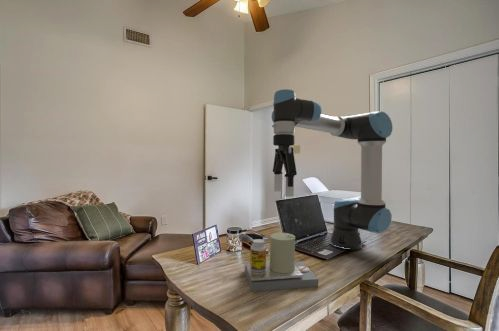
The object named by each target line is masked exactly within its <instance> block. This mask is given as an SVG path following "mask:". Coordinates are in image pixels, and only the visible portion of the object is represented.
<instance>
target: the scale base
mask: <svg viewBox="0 0 499 331" xmlns="http://www.w3.org/2000/svg"><path fill="white" fill-rule="evenodd" d="M295 266H296V267H297V268H298V270H299V271H300V272H301V273H302V274H303V277H299V278H285V279H271V280H258V281H251V279H250V276H249V273H248V270H247V268H246V265H245V264H244V274H245V276H246V279H247V281H248V284H249V288H250V291H251V292H264V291H265V292H266V291H275V290H291V289H299V288H300V289H301V288H314V287H319V278H318V277H317V276H316V275H315V274H314V273H313V271H311V270H310V268H309V267H308V266H307V265H306V264H305V263H304V262H303V261H295Z"/></svg>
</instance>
